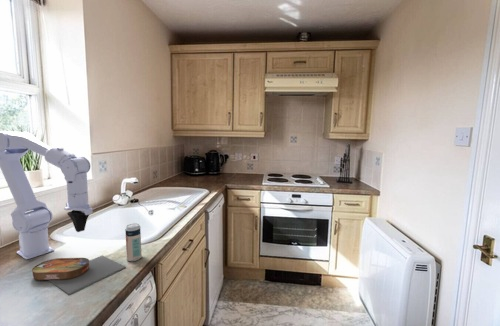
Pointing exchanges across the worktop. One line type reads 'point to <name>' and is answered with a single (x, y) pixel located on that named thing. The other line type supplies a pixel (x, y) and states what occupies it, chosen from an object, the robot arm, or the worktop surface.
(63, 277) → the tin
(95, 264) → the mat
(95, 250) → the worktop surface
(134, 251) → the beer can
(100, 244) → the worktop surface
